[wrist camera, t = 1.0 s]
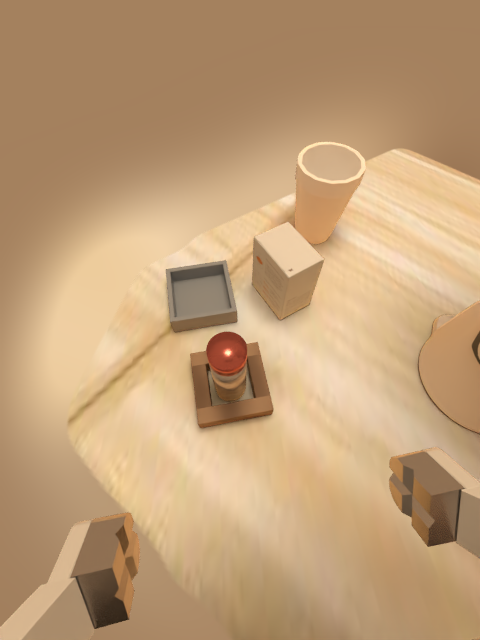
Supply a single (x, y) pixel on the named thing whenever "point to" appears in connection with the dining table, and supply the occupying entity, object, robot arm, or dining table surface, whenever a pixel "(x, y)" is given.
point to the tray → (200, 296)
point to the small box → (285, 269)
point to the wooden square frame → (233, 410)
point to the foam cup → (325, 187)
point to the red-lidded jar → (228, 365)
